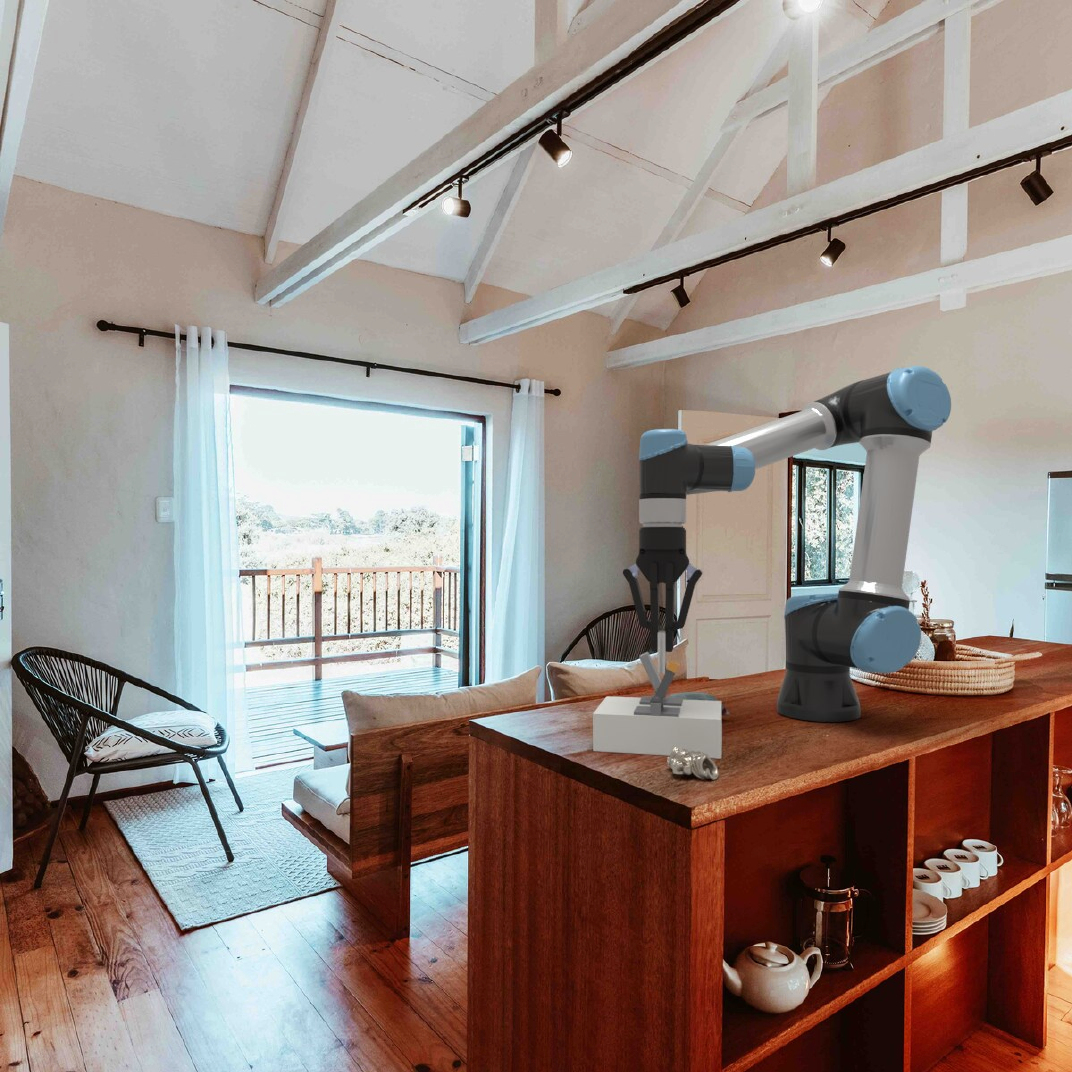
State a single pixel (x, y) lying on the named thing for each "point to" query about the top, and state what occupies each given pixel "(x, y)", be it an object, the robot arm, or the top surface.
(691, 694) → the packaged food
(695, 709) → the box
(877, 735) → the top surface
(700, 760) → the ornament
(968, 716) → the top surface
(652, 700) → the lever
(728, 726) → the top surface
